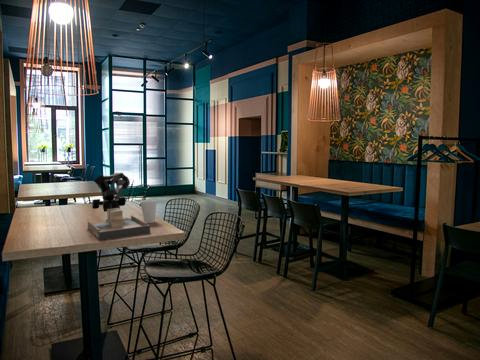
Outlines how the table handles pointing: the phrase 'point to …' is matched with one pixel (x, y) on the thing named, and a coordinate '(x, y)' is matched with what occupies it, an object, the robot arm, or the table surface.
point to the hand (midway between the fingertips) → (112, 214)
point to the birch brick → (115, 217)
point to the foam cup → (149, 210)
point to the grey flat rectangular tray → (119, 229)
